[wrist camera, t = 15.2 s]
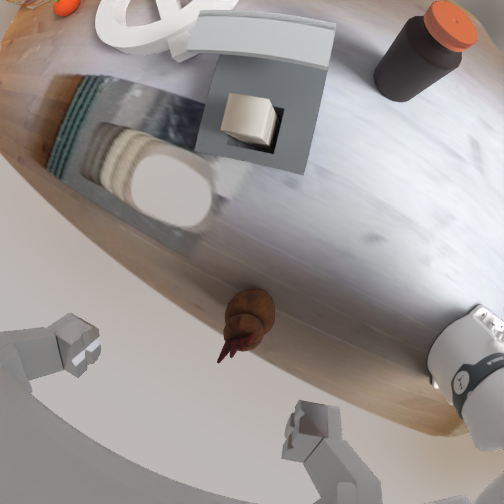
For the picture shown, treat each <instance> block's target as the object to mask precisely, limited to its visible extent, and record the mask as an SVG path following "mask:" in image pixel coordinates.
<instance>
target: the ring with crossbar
mask: <svg viewBox="0 0 504 504" xmlns="http://www.w3.org/2000/svg"><path fill="white" fill-rule="evenodd" d="M129 2H130V0H102V1H101V3H100V5H99V7H98V10H97V14H96V19H95V27H96V32H97V34H98V36H99V37H100V39H101V40H102V41H103V42H105V43H106V44H108V45H110V46H112V47H114V48H116V49H118V50H120V51H122V52H124V53H127V54H131V55H151V54H156V53H161V52H164V51H167V50H170V52H171V55H172V58H173V59H174V60H176V61H177V62H178V63H180V62H182V61H184V60H187V59H189V58H191V57H193V56H195V55H198V53H189V52H188V51H187V50H186V48H187V45H188V42H189V39H190V36H191V34H192V31H193V28H194V25H195V23H196V20H197V18H198V15H199V13H200V10H232V9H233V7H234V6H235V5H236V3H237V2H238V0H193V1H192V2H190V3H189V4H188V5H186V6H185V7H183V8H182V7H181V4H180V2H179V0H156V3H157V7H158V10H159V14H160V17H161V20H159V21H157V22H154V23H151V24H148V25H143V26H137V27H129V26H127V25H126V22H125V13H126V9H127V6H128V4H129Z"/></svg>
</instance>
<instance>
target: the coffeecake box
mask: <svg viewBox="0 0 504 504" xmlns="http://www.w3.org/2000/svg"><path fill="white" fill-rule="evenodd" d="M4 1H8V2H11V3H15V4H18V5H21V6H24V7H27V8H30V9H32V10H33V9H35V8H36V7H38V6H40V5H42V4H44V3H46V2H48V1H50V0H4Z"/></svg>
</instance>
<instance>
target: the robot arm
mask: <svg viewBox="0 0 504 504" xmlns="http://www.w3.org/2000/svg"><path fill="white" fill-rule="evenodd" d="M98 337H99V329H98V328H96V327H95V326H93V325H91V324H90V323H88V322H86V321H84V320H83V319H81V318H79V317H77V316H76V315H74V314H72V313H69V314H67V315H65V316H64V317H62V318H61V319H59V320H58V321H56V322H55V323H53V324H52V325H50V326H49V327H47V328H44V327H41V328H32V329H23V330H14V331H4V332H0V504H256V503H250V502H245V501H241V500H237V499H233V498H229V497H225V496H221V495H217V494H214V493H211V492H207V491H204V490H201V489H198V488H195V487H192V486H188V485H186V484H183V483H181V482H178V481H175V480H172V479H170V478H168V477H165V476H163V475H160V474H158V473H156V472H153V471H151V470H149V469H147V468H144V467H142V466H140V465H138V464H136V463H134V462H132V461H130V460H128V459H126V458H124V457H122V456H120V455H118V454H116V453H115V452H113V451H111V450H109V449H108V448H106V447H104V446H102V445H101V444H99V443H98V442H96V441H94V440H93V439H91V438H89V437H88V436H86V435H85V434H83V433H82V432H80V431H79V430H77V429H76V428H74V427H73V426H71V425H70V424H69V423H67V422H66V421H64V420H63V419H62V418H60V417H59V416H58V415H56V414H55V413H53V412H52V411H51V410H50V409H49V408H47V407H46V406H45V405H44V404H42V403H41V402H40V401H39V400H38V399H36V398H35V397H34V396H33V395H32V394H31V392H32V387H31V385H30V382H29V380H32V379H36V378H39V377H42V376H46V375H49V374H52V373H56V372H59V371H61V370H66V371H68V372H69V373H71V374H72V375H74V376H76V377H77V378H79V377H80V376H81V375H82V374H83V373H84V372H85V371H86V370H87V365H89V364H93V363H94V362H95V361H96V360H97V359H98V357H99V355H100V352H101V345H100V343H99V341H98V339H97V338H98ZM428 369H429V371H430V373H431V374H432V377H433V378H432V384H433V386H434V388H440V390H441V392H442V393H443V395H444V396H445V398H446V399H447V401H448V402H449V404H450V405H454V407H455V410H456V412H457V413H458V415H459V416H460V418H461V419H463V420H464V421H465V424H466V426H467V428H468V430H469V433H470V435H471V437H472V440H473V442H474V444H475V446H476V448H477V449H479V450H481V451H484V452H491V451H496V450H499V449H503V450H504V321H503V320H501V319H500V318H499V317H497V316H496V315H495V314H493V313H492V312H491V311H489V310H488V309H487V308H485V307H484V306H483V305H478V306H477V307H475V308H474V309H473V310H472V311H471V312H470V313H469V314H468V315H466V316H464V317H462V318H460V319H458V320H456V321H455V322H453V323H452V324H451V325H449V326H448V327H447V328H446V329H445V330H444V331H443V332H442V333H441V334H440V335H439V337H438V338H437V339H436V341H435V342H434V344H433V346H432V348H431V350H430V353H429V356H428ZM285 437H286V441H285V443H284V444H283V450H282V457H281V458H282V459H286V460H291V461H297V462H302V463H303V464H304V466H305V468H306V470H307V472H308V474H309V476H310V477H311V479H312V481H313V483H314V485H315V487H316V489H317V491H318V493H319V494H320V496H321V498H320V499H319V500H317V501H316V502H315V503H313V504H383V503H382V492H381V483H380V481H379V479H378V478H377V477H376V476H375V475H374V474H373V472H372V471H371V470H370V469H369V468H368V467H367V465H366V464H365V463H364V462H363V461H362V459H361V458H360V457H359V456H358V455H357V453H356V452H355V451H354V450H353V449H352V447H351V446H350V445H349V444H348V442H347V441H345V440H342V428H341V416H340V408H339V407H337V406H330V405H324V404H318V403H312V402H307V401H302V400H299V401H298V403H297V404H296V406H295V412H294V413H292V414H291V415H290V418H289V420H288V422H287V425H286V429H285ZM425 504H504V472H503V473H502V474H501V475H500V476H499V477H497V478H496V479H495V480H494V481H493V482H492V483H491V484H490V485H489V486H488V487H487V488H486V489H485V490H484V491H483V492H482V493H481V494H480V496H479V497H478V498H477V499H476V501H474V502H473V501H472V500H471V499H469V498H468V497H466V496H463V495H460V496H454V497H451V498H447V499H443V500H439V501H435V502H431V503H425Z"/></svg>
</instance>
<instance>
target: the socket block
mask: <svg viewBox="0 0 504 504" xmlns="http://www.w3.org/2000/svg"><path fill="white" fill-rule="evenodd" d="M336 25H337V24H335V23H330V22H326V21H321V20H317V19H312V18H306V17H301V16H294V15H288V14H280V13H272V12H261V11H247V10H200V13H199V15H198V18H197V20H196V23H195V25H194V28H193V31H192V34H191V36H190V39H189V42H188V45H187V48H186V50H187V51H188V52H189V53H207V54H220V55H219V58H218V61H217V65H216V68H215V72H214V75H213V78H212V82H211V86H210V89H209V93H208V97H207V100H206V104H205V108H204V112H203V116H202V120H201V124H200V128H199V132H198V137H197V141H196V146H195V150H194V151H197V152H202V153H206V154H212V155H217V156H222V157H228V158H233V159H237V160H242V161H247V162H252V163H256V164H261V165H265V166H269V167H273V168H278V169H282V170H286V171H290V172H293V173H297V174H301V175H304V171H305V167H306V163H307V159H308V155H309V150H310V146H311V142H312V138H313V134H314V129H315V125H316V121H317V116H318V112H319V107H320V103H321V98H322V94H323V89H324V84H325V80H326V75H327V71H328V66H329V61H330V56H331V51H332V46H333V41H334V36H335V30H336ZM230 93H232V94H240V95H247V96H253V97H259V98H265V99H269V100H270V102H271V104H272V106H273V109H274V111H275V113H276V115H279V116H283V118H282V122H281V127H280V131H279V135H278V139H277V143H276V147H275V152H274V154H270V153H265V152H261V151H256V150H251V149H246V148H241V147H236V146H237V142H238V139H236V138H234V137H232V136H231V135H229V134H227V133H225V132H223V131H221V125H222V121H223V117H224V113H225V109H226V106H227V102H228V98H229V94H230Z"/></svg>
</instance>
